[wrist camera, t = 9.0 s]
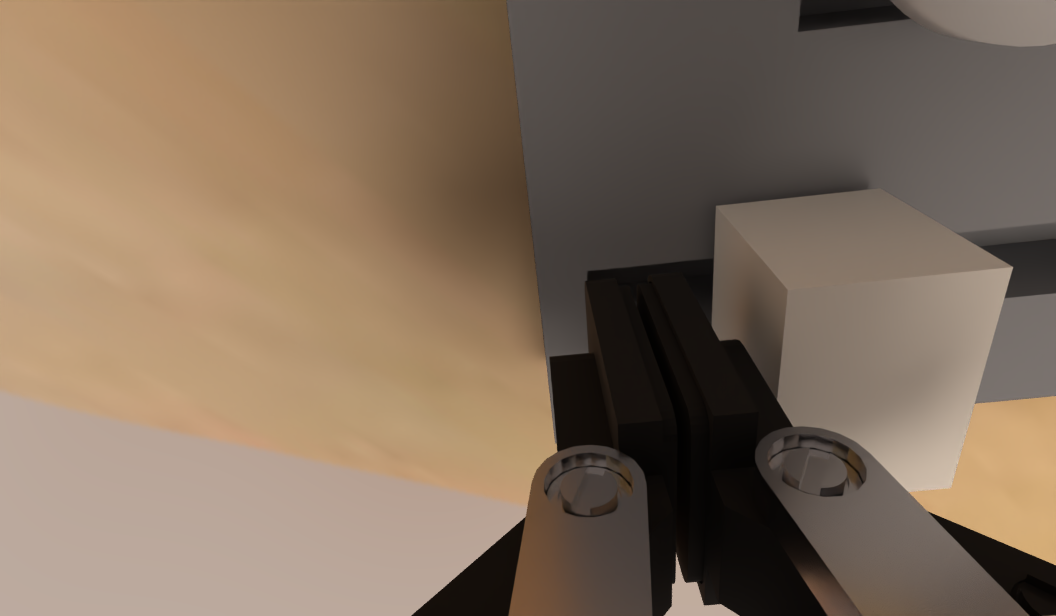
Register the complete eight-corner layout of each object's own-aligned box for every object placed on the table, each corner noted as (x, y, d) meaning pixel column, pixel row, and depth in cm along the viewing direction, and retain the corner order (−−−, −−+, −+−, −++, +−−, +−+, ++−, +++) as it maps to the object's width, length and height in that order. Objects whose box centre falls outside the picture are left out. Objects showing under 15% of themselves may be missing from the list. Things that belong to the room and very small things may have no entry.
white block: (821, 153, 14) (1013, 266, 8) (803, 313, 16) (950, 488, 10) (684, 168, 14) (787, 289, 9) (682, 325, 16) (766, 505, 10)
